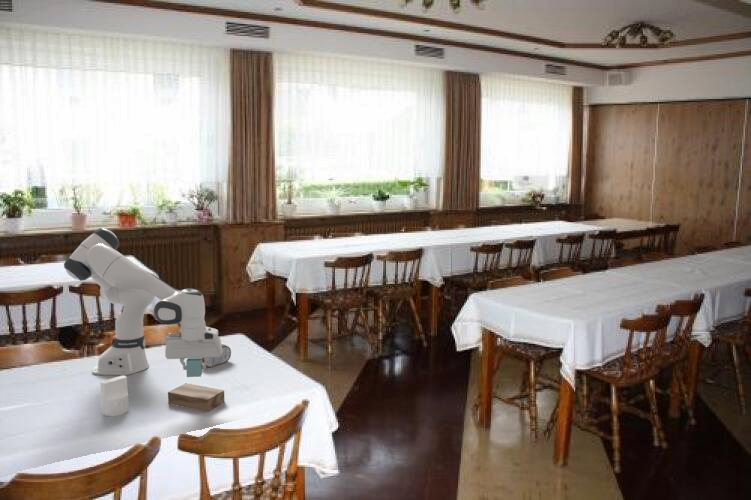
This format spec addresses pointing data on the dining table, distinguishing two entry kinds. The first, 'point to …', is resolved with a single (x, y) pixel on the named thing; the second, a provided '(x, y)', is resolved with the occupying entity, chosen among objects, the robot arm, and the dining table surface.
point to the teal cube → (194, 367)
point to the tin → (219, 360)
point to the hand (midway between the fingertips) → (194, 369)
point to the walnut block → (196, 397)
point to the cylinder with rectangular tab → (114, 396)
